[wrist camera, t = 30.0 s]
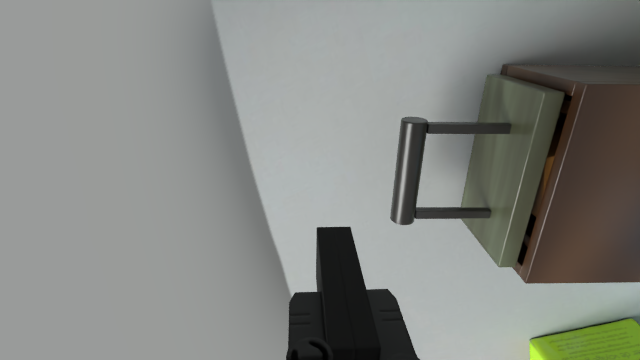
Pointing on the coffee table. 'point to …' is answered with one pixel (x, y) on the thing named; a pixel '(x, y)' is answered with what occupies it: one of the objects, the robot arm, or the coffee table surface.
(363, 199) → the coffee table surface
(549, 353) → the box
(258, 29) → the coffee table surface
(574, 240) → the cabinet
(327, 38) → the coffee table surface
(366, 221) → the coffee table surface
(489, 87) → the drawer
